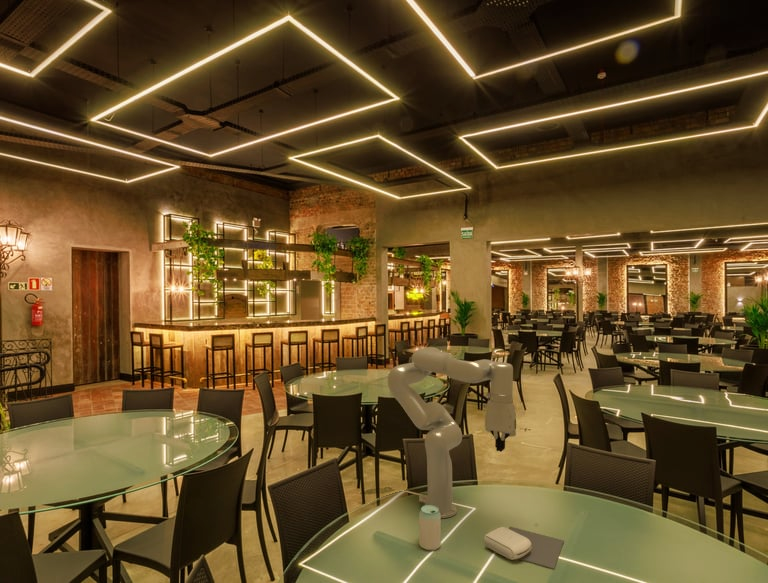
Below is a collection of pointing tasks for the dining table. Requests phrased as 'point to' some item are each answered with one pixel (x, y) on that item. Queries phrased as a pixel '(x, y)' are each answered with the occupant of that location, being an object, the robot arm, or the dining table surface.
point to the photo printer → (507, 543)
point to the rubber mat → (541, 549)
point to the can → (430, 527)
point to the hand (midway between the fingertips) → (500, 450)
